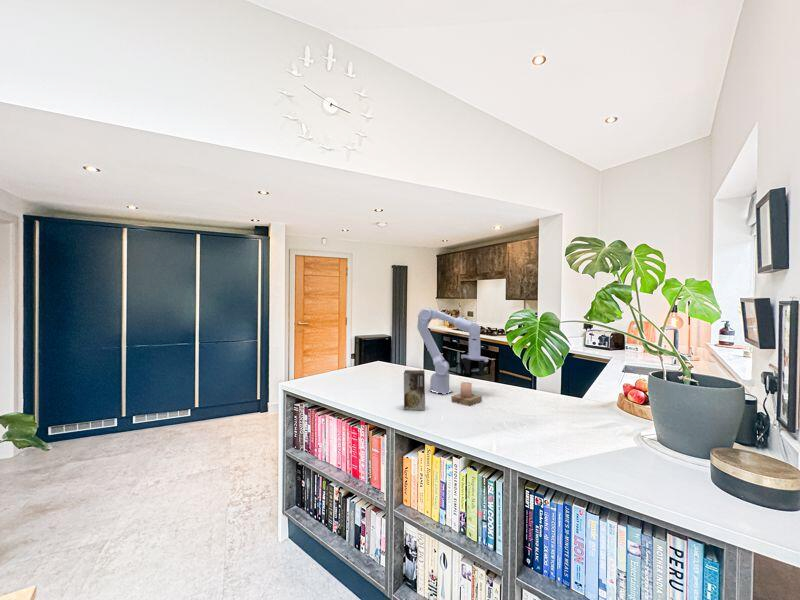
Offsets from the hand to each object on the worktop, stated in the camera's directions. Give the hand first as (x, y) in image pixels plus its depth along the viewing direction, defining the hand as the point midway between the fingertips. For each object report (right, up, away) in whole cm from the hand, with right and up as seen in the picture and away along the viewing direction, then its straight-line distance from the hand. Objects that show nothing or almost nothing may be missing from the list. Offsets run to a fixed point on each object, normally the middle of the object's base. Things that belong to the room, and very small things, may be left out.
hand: (474, 374), depth 176 cm
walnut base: (-6, -10, -12) cm, 17 cm away
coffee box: (-31, -10, -22) cm, 39 cm away
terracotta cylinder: (-7, -8, -12) cm, 16 cm away
